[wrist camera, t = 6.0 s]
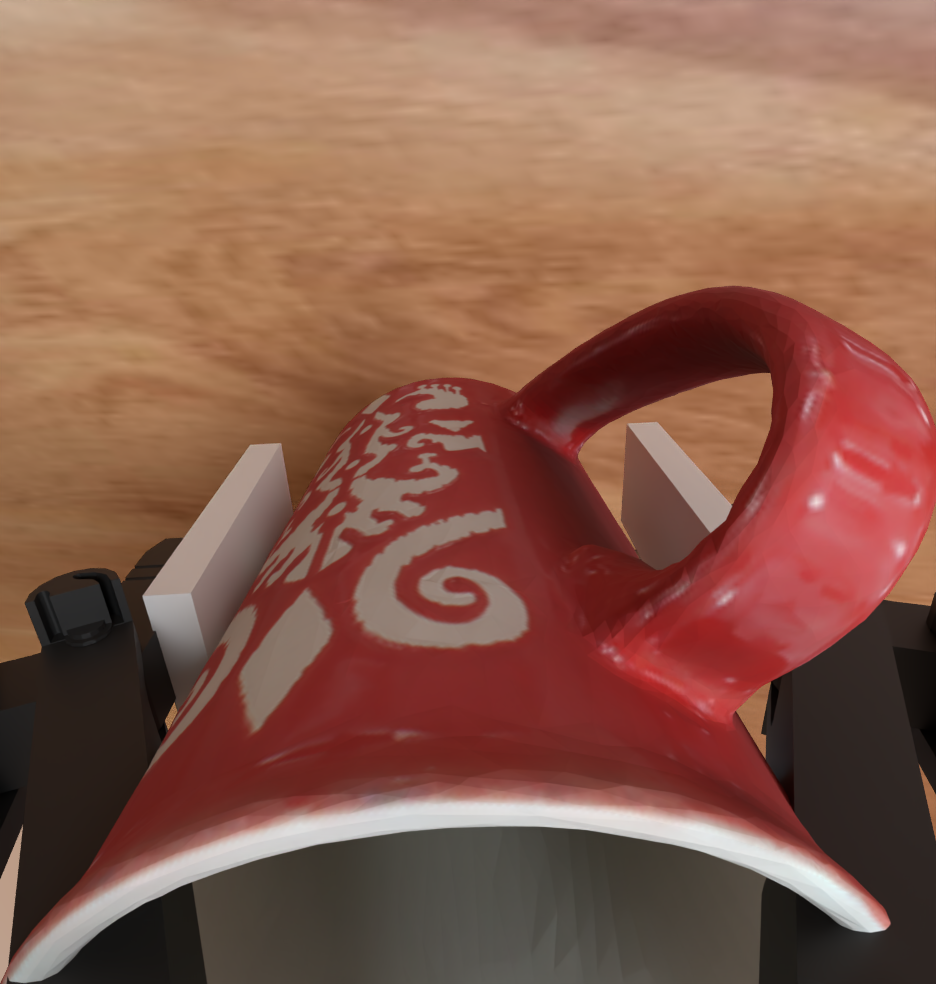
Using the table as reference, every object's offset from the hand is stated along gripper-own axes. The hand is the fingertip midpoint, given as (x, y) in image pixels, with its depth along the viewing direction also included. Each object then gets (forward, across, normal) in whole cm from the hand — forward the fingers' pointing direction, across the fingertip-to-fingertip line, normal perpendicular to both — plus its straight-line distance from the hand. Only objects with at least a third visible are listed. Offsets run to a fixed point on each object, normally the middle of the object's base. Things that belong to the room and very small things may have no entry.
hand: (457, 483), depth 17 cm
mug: (+2, +1, 0) cm, 2 cm away
